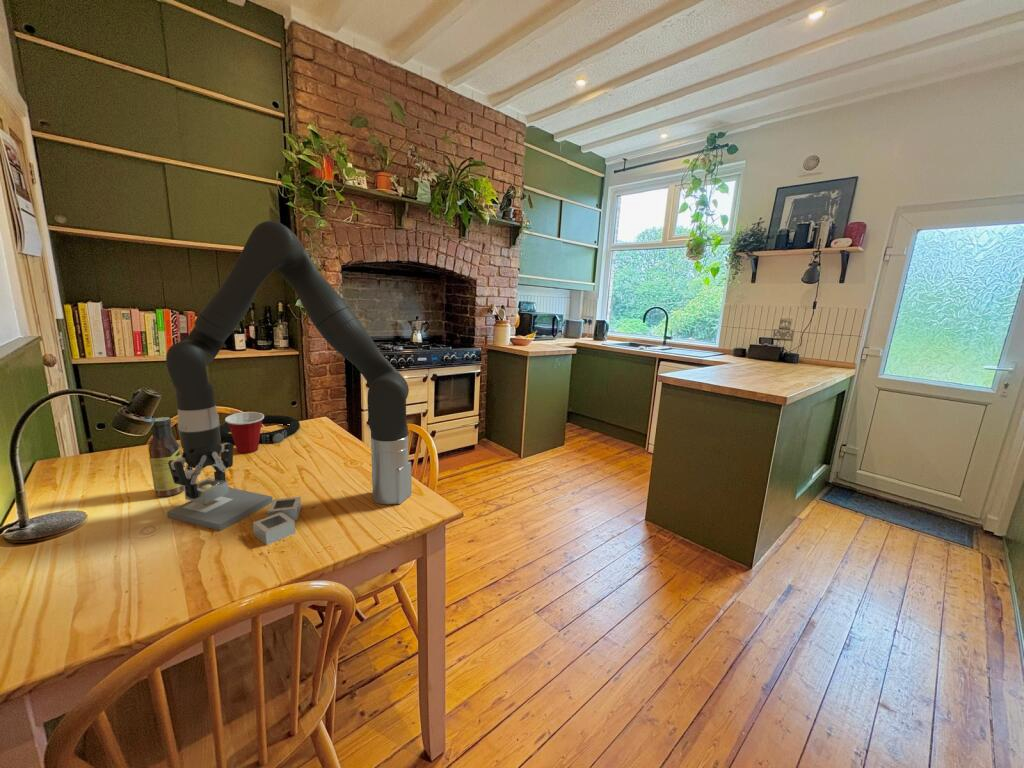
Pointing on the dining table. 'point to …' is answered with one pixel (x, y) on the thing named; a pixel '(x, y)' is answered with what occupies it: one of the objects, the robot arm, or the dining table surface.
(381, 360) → the robot arm
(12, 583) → the dining table surface
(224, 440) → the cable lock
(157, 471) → the sauce bottle
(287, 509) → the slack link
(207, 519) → the keeper board
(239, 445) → the plastic cup
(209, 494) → the grey square ring
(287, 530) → the slack link
